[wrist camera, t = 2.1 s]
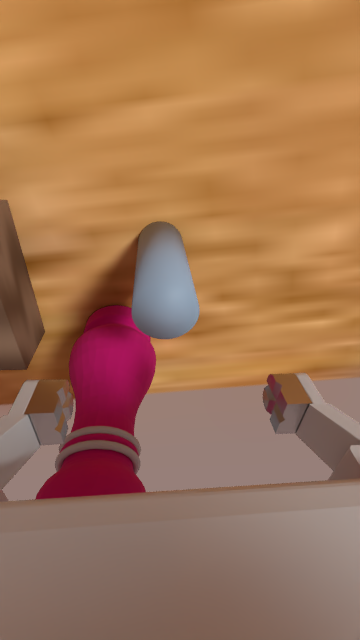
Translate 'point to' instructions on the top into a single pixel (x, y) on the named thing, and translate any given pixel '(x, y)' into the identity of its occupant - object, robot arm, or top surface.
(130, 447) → the pepper mill
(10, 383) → the top surface
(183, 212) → the top surface
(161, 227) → the peg
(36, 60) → the top surface
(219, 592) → the robot arm
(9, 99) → the top surface
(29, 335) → the socket block
